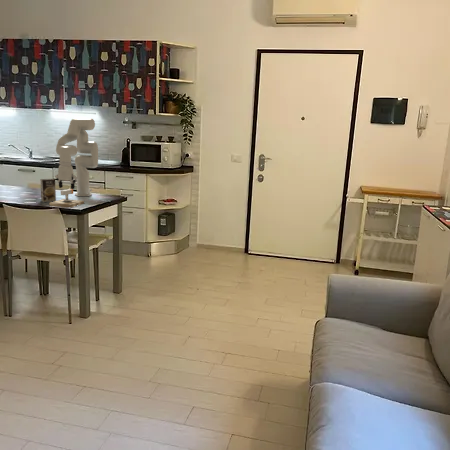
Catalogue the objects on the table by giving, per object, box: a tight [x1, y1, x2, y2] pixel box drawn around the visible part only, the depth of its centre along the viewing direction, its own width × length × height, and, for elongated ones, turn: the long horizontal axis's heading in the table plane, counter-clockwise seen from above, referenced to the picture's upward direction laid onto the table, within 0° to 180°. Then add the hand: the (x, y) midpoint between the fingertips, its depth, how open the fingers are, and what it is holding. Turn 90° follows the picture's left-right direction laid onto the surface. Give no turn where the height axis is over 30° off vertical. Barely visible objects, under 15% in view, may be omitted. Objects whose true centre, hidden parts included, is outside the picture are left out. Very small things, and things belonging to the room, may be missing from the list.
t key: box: [60, 188, 74, 202], centre depth 333 cm, size 10×4×8 cm, turn 154°
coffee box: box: [40, 178, 57, 203], centre depth 342 cm, size 9×6×16 cm
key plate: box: [48, 198, 85, 208], centre depth 334 cm, size 17×17×2 cm
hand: (66, 188), depth 332 cm, fingers open, 9 cm apart
